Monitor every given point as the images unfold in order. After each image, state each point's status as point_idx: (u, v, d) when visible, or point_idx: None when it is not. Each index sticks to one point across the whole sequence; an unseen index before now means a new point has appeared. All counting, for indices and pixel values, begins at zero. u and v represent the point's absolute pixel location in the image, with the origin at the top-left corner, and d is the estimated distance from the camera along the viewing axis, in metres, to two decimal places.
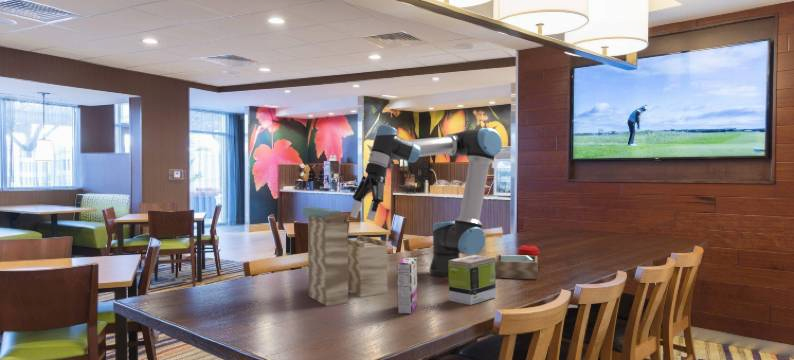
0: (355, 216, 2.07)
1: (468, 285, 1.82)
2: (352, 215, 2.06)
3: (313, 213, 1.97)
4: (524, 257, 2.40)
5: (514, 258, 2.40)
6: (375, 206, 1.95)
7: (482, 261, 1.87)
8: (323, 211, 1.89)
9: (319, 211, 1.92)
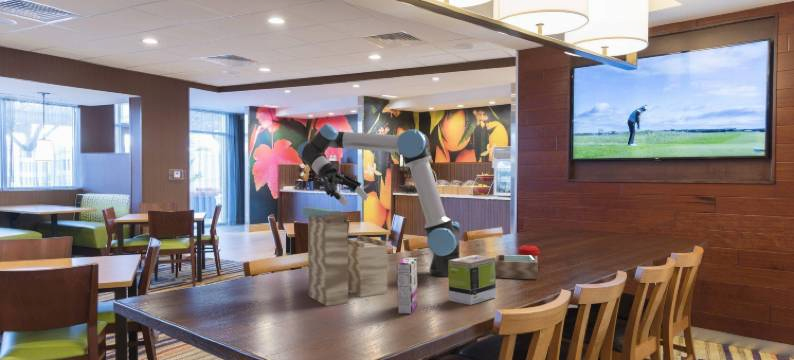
0: (365, 196, 2.29)
1: (468, 285, 1.82)
2: (364, 198, 2.29)
3: (313, 213, 1.97)
4: (528, 257, 2.40)
5: (517, 258, 2.41)
6: (335, 196, 2.19)
7: (482, 261, 1.87)
8: (323, 211, 1.89)
9: (319, 211, 1.92)
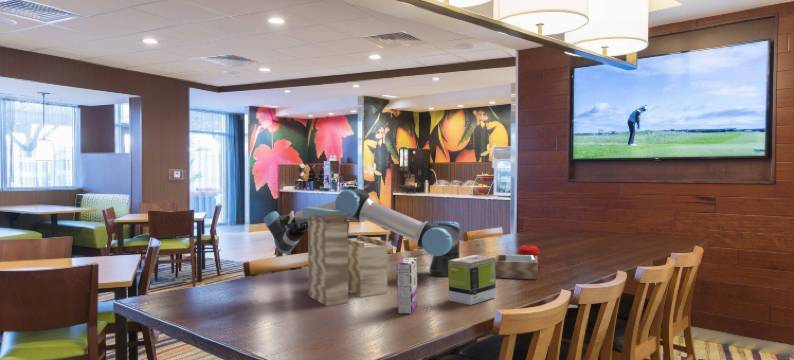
0: None
1: (468, 285, 1.82)
2: None
3: (313, 213, 1.97)
4: (529, 257, 2.40)
5: (519, 258, 2.41)
6: (286, 219, 2.23)
7: (482, 261, 1.86)
8: (323, 211, 1.89)
9: (319, 211, 1.92)
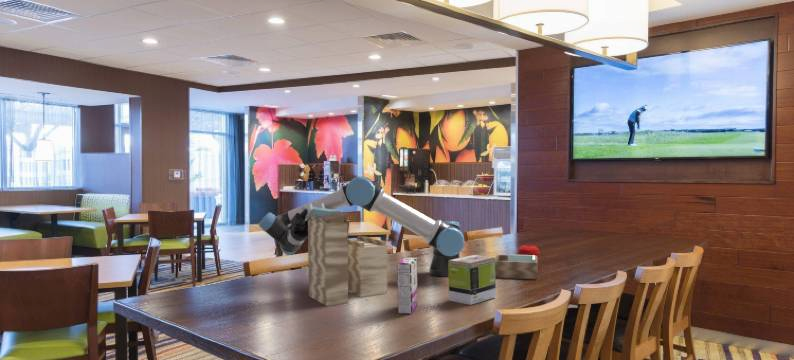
0: (321, 205, 2.01)
1: (468, 285, 1.82)
2: None
3: (313, 213, 1.97)
4: (531, 257, 2.40)
5: (521, 258, 2.41)
6: (303, 213, 2.01)
7: (482, 261, 1.87)
8: (323, 211, 1.89)
9: (319, 211, 1.92)
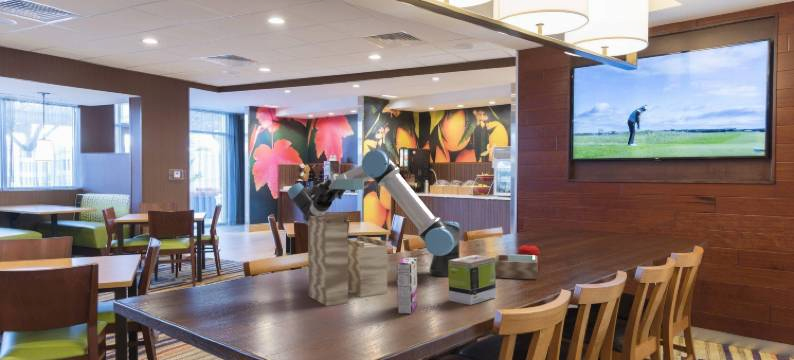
0: (343, 176, 2.16)
1: (468, 285, 1.82)
2: None
3: (336, 183, 2.12)
4: (531, 257, 2.40)
5: (521, 258, 2.41)
6: (326, 184, 2.16)
7: (482, 261, 1.87)
8: (346, 180, 2.04)
9: (342, 180, 2.07)
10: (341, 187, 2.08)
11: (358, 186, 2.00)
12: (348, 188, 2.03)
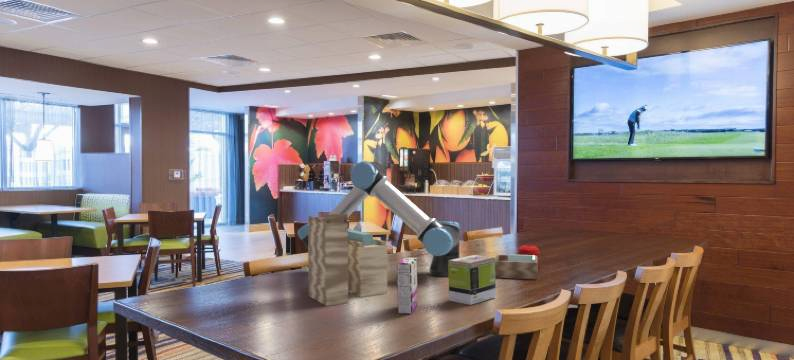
0: (359, 223, 2.20)
1: (468, 285, 1.82)
2: (360, 226, 2.19)
3: None
4: (531, 257, 2.40)
5: (521, 258, 2.41)
6: None
7: (482, 261, 1.87)
8: (356, 234, 2.05)
9: (352, 233, 2.08)
10: None
11: (367, 242, 2.01)
12: None
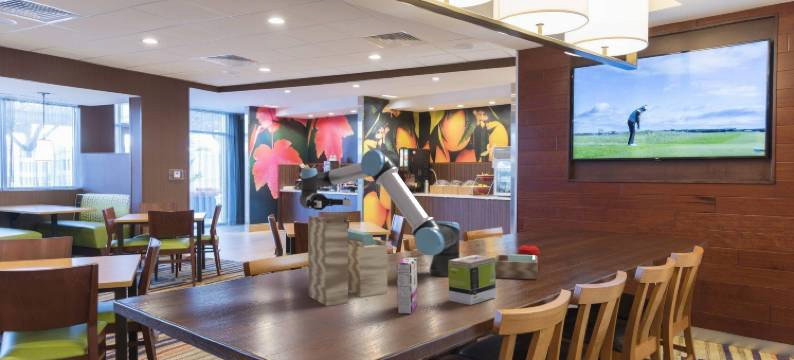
0: (348, 202, 2.34)
1: (468, 285, 1.82)
2: (348, 205, 2.34)
3: None
4: (531, 257, 2.40)
5: (521, 258, 2.41)
6: (312, 204, 2.31)
7: (482, 261, 1.87)
8: (356, 234, 2.05)
9: (352, 233, 2.08)
10: None
11: (367, 242, 2.01)
12: None
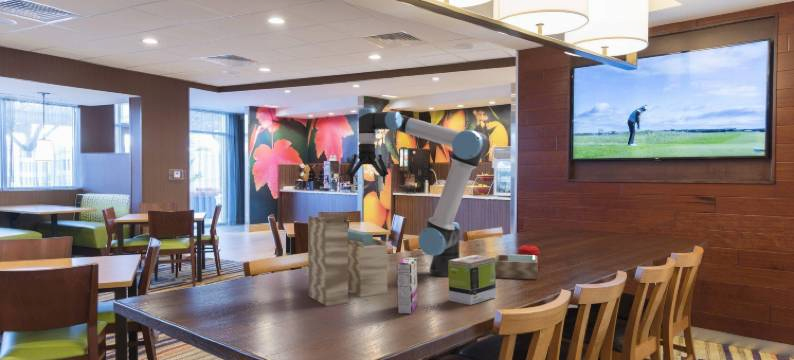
0: (380, 189, 2.41)
1: (468, 285, 1.82)
2: (379, 189, 2.42)
3: None
4: (531, 257, 2.40)
5: (521, 258, 2.41)
6: (350, 179, 2.35)
7: (482, 261, 1.87)
8: (356, 234, 2.05)
9: (352, 233, 2.08)
10: None
11: (367, 242, 2.01)
12: None
